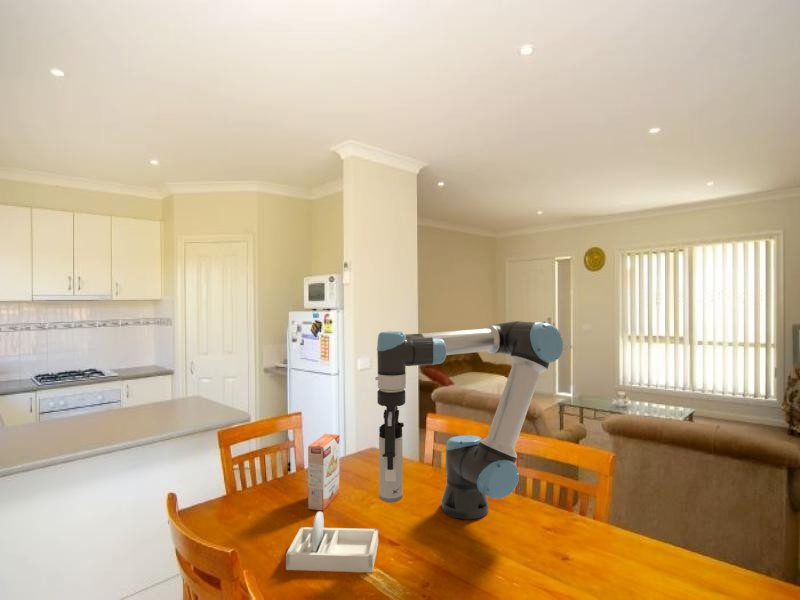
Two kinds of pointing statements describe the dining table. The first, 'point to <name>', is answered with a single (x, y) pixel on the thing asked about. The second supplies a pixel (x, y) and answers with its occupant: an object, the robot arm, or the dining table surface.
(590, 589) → the dining table surface
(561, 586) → the dining table surface
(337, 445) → the cracker box
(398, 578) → the dining table surface
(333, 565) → the rack
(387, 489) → the travel mug
